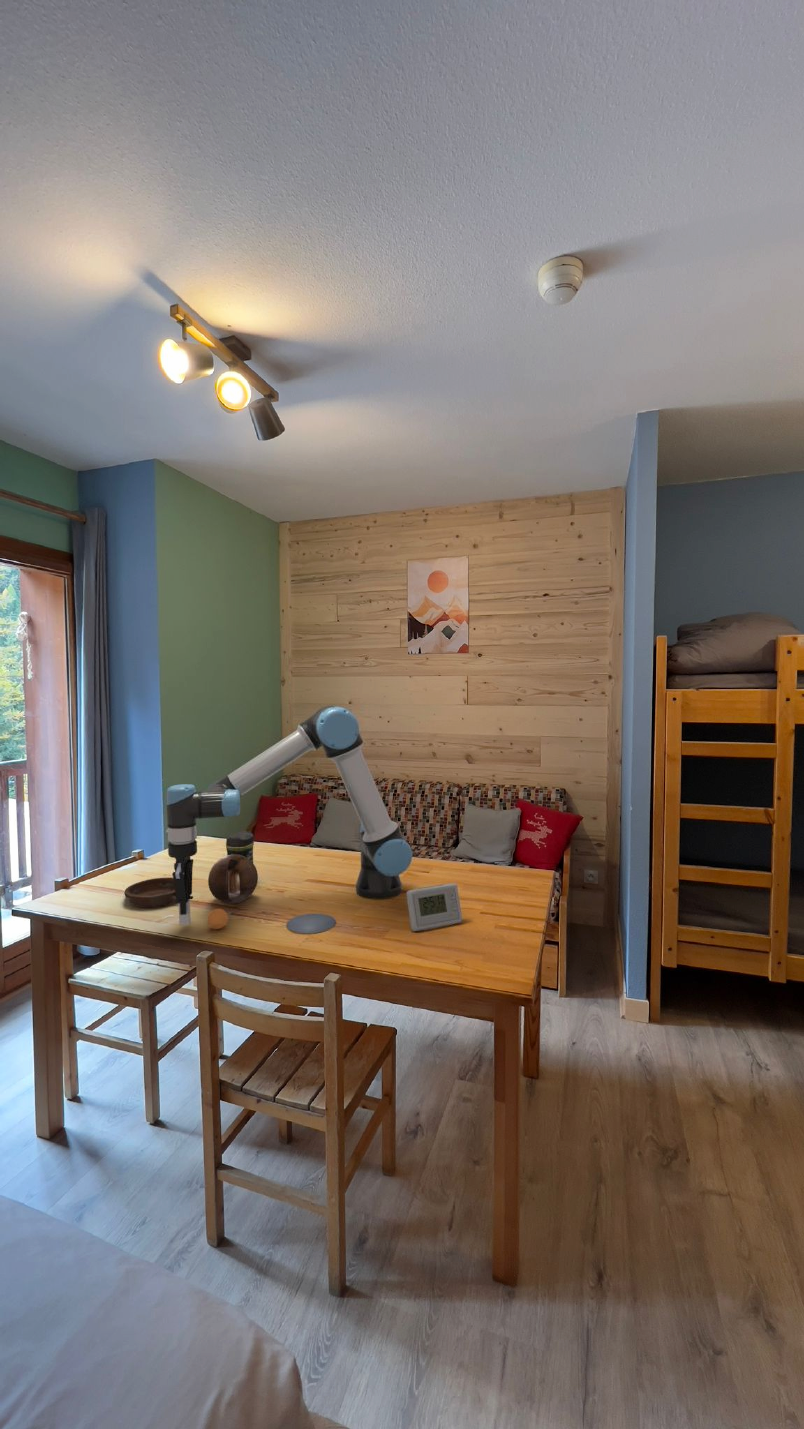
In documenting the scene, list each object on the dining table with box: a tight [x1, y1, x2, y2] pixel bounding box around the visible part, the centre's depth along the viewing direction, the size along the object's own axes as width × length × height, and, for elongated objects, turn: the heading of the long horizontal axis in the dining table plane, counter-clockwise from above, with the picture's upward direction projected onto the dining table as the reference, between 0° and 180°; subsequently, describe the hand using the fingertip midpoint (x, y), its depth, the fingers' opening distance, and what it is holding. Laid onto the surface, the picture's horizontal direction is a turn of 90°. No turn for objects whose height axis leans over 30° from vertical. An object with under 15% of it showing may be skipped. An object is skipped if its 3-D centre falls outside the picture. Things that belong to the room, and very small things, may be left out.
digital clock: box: [405, 883, 463, 932], centre depth 168 cm, size 16×9×11 cm, turn 102°
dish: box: [124, 877, 176, 909], centre depth 189 cm, size 18×22×5 cm
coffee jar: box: [225, 830, 255, 864], centre depth 200 cm, size 10×8×19 cm
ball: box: [206, 908, 229, 930], centre depth 167 cm, size 6×6×6 cm
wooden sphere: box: [207, 854, 259, 905], centre depth 187 cm, size 15×15×15 cm
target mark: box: [285, 913, 337, 935], centre depth 170 cm, size 14×14×1 cm
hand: (185, 924), depth 166 cm, fingers closed
